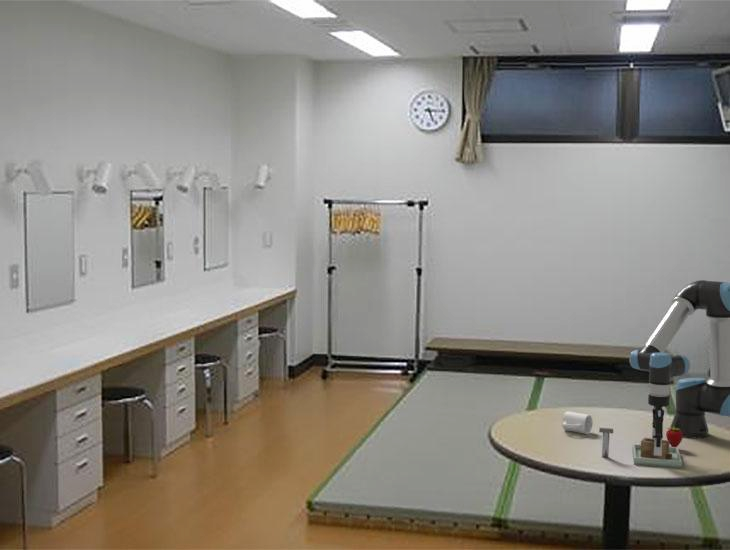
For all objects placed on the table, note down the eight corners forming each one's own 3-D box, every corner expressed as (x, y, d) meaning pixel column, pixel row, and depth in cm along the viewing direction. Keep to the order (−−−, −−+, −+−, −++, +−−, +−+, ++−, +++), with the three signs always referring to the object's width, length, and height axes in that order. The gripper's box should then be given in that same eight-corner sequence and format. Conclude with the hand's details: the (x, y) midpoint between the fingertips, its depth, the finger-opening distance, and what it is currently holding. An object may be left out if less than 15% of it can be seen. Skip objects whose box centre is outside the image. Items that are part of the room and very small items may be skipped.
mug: (570, 428, 397) (571, 409, 396) (592, 432, 391) (593, 413, 390) (557, 433, 388) (557, 414, 387) (579, 437, 381) (579, 418, 381)
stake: (612, 456, 354) (613, 428, 353) (612, 458, 352) (613, 429, 351) (598, 455, 355) (599, 427, 354) (598, 457, 353) (599, 428, 352)
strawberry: (670, 451, 363) (671, 426, 362) (662, 446, 370) (663, 421, 369) (685, 451, 363) (686, 426, 362) (677, 446, 371) (678, 421, 370)
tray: (677, 453, 359) (677, 447, 359) (681, 468, 340) (682, 461, 340) (632, 450, 363) (632, 444, 363) (634, 464, 344) (634, 457, 344)
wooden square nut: (640, 456, 352) (641, 440, 351) (644, 452, 357) (645, 437, 357) (669, 461, 346) (670, 445, 346) (673, 457, 352) (673, 441, 351)
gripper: (646, 387, 363) (644, 441, 365) (650, 400, 339) (647, 458, 340) (667, 388, 361) (664, 442, 363) (672, 402, 337) (669, 460, 339)
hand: (656, 450), depth 352 cm, fingers open, 13 cm apart
